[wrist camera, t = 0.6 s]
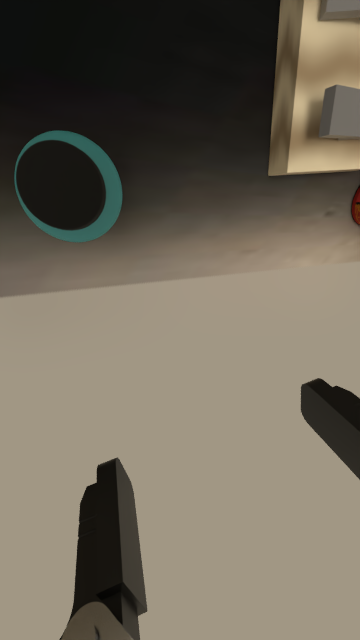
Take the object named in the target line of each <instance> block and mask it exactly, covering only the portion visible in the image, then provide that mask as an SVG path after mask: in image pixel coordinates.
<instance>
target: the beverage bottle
mask: <svg viewBox="0 0 360 640" xmlns="http://www.w3.org/2000/svg"><path fill="white" fill-rule="evenodd" d="M14 180H15V188H16V193H17V196H18V199H19V201H20V203H21V205H22V208H23V209H24V211H25V212H26V214H27V215H28V217H29V218H30V219H31V220H32V221H33V222H34V223H35V224H36V225H37V226H38V227H39V228H40V229H42V230H43V231H44V232H46V233H47V234H49V235H51V236H53V237H55V238H58V239H60V240H64V241H68V242H87V241H91V240H94V239H96V238H98V237H100V236H102V235H103V234H105V233H106V232H107V231H108V230H109V229H110V228H111V227H112V226H113V225H114V223H115V222H116V220H117V218H118V216H119V213H120V210H121V206H122V186H121V181H120V178H119V174H118V172H117V170H116V168H115V166H114V164H113V162H112V161H111V159H110V158H109V157H108V155H107V154H106V153H105V152H104V151H103V150H102V149H101V148H100V147H99V146H98V145H97V144H95V143H94V142H92V141H91V140H89V139H88V138H86V137H84V136H82V135H79V134H77V133H73V132H69V131H50V132H46V133H43V134H40V135H38V136H36V137H35V138H33V139H32V140H30V141H29V142H28V143H27V144H26V145H25V147H24V148H23V149H22V151H21V153H20V155H19V157H18V159H17V162H16V167H15V176H14Z"/></svg>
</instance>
